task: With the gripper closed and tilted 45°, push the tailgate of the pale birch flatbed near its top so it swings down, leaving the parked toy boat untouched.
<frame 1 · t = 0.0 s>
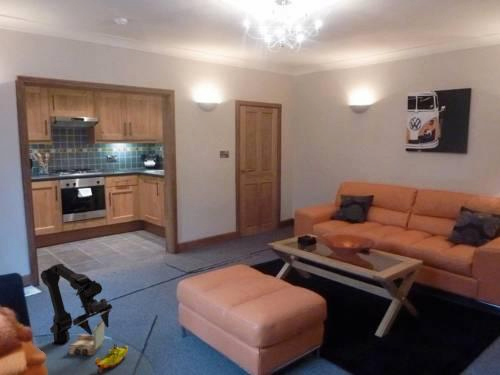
hand: (99, 330, 188), 15 cm above the table, tool tilted 35°, fingers open, 9 cm apart
tailgate: (99, 332, 198), point 9 cm above the table, hinge at 0.0°
flatbed: (86, 349, 200), on the table
toy boat: (113, 364, 187), on the table
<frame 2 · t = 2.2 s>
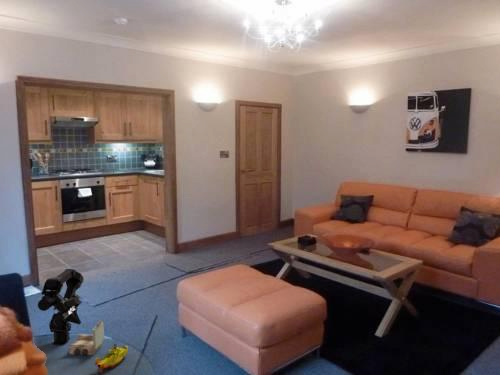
hand: (80, 323, 198), 14 cm above the table, tool tilted 45°, fingers closed
tailgate: (99, 332, 198), point 9 cm above the table, hinge at -1.9°
everything else where it was.
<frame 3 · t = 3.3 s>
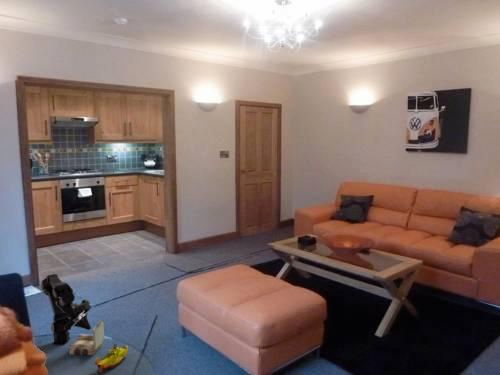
hand: (90, 329, 198), 11 cm above the table, tool tilted 45°, fingers closed
nothing on the table moved.
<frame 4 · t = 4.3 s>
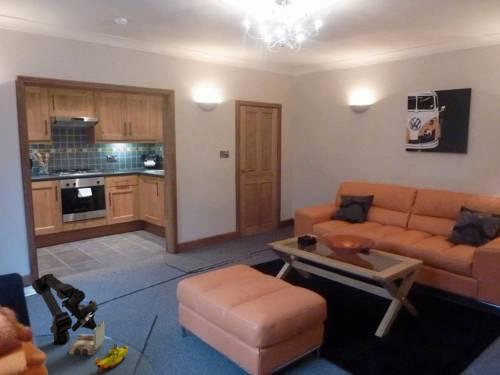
hand: (97, 330, 198), 11 cm above the table, tool tilted 45°, fingers closed, pressing on tailgate
tailgate: (99, 332, 198), point 9 cm above the table, hinge at 1.3°, touching gripper
everything else where it was.
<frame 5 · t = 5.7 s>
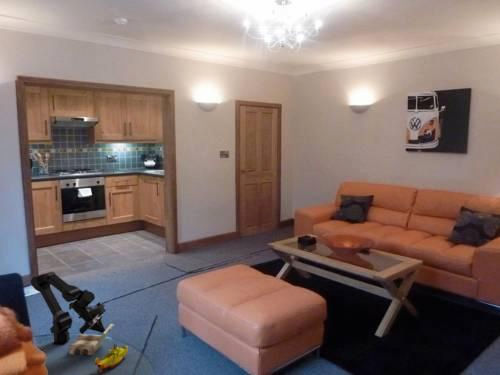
hand: (104, 332, 198), 10 cm above the table, tool tilted 45°, fingers closed, pressing on tailgate
tailgate: (105, 335, 198), point 8 cm above the table, hinge at 29.8°, touching gripper
everything else where it was.
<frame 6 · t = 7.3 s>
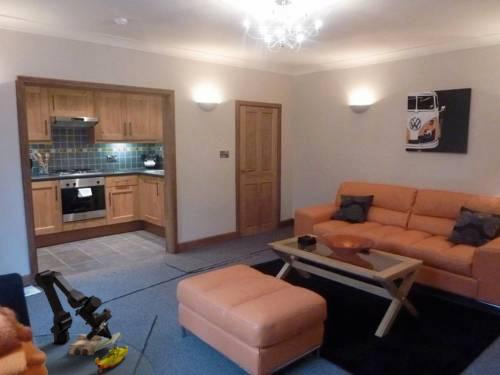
hand: (111, 338, 198), 6 cm above the table, tool tilted 45°, fingers closed
tailgate: (109, 341, 199), point 5 cm above the table, hinge at 65.0°
everything else where it was.
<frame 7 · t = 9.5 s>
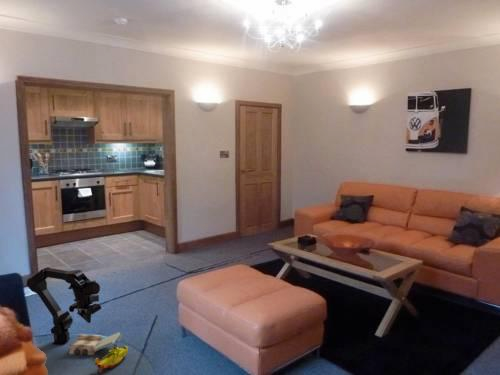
hand: (89, 322, 203), 12 cm above the table, tool pointing down, fingers closed
nothing on the table moved.
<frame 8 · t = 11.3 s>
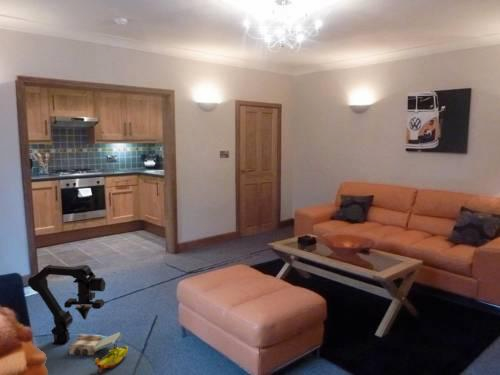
hand: (85, 319, 204), 13 cm above the table, tool pointing down, fingers closed
nothing on the table moved.
at the end: tailgate at +65° (first picture: +0°); toy boat moved 0.4 cm from its start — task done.
